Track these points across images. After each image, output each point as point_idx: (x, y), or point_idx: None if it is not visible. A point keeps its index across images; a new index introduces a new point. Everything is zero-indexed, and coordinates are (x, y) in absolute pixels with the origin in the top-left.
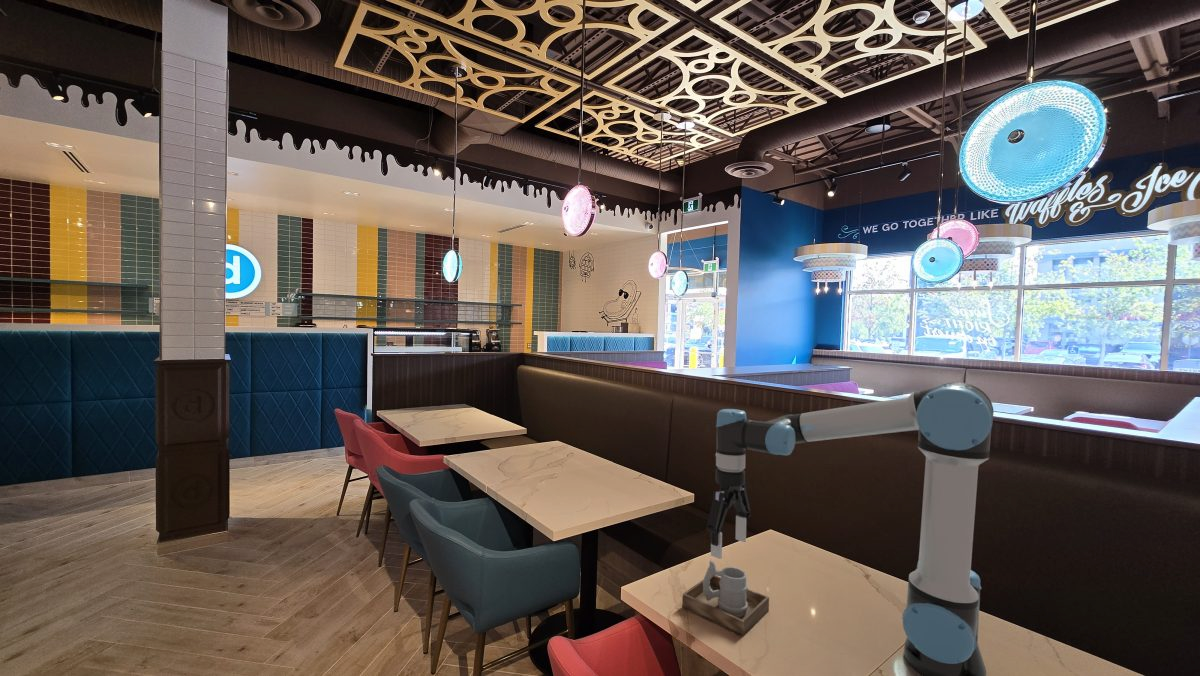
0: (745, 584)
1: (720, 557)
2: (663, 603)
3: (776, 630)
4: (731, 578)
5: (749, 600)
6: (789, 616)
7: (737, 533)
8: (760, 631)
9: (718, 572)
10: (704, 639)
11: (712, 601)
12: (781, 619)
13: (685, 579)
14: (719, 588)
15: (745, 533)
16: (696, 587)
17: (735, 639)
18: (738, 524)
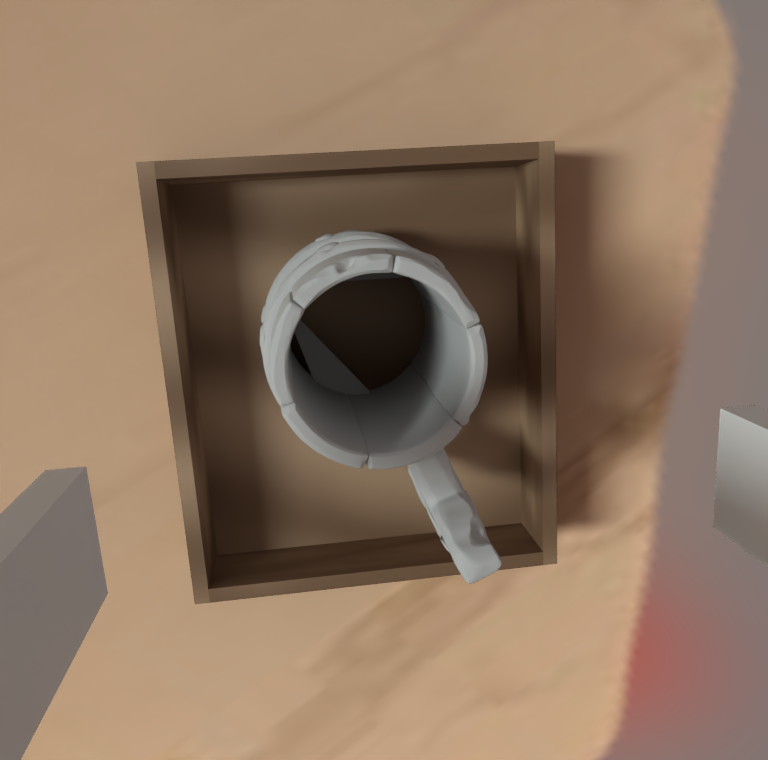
0: (358, 251)
1: (761, 409)
2: (561, 613)
3: (311, 37)
4: (482, 327)
5: (184, 300)
6: (97, 43)
7: (72, 619)
8: (395, 105)
9: (450, 466)
10: (679, 287)
11: None
12: (174, 68)
13: (261, 697)
14: (211, 504)
15: (15, 519)
16: (417, 562)
17: (567, 172)
18: (7, 709)
